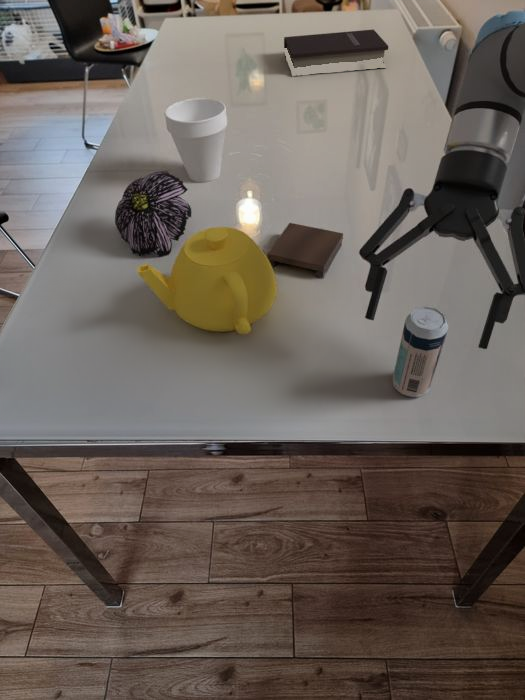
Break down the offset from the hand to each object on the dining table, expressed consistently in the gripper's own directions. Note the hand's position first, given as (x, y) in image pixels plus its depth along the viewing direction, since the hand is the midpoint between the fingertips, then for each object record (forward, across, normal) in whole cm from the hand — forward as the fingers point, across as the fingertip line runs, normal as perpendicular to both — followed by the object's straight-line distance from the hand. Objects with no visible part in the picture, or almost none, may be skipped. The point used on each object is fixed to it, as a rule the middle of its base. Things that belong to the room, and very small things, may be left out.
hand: (423, 333), depth 61 cm
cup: (-22, +54, -34) cm, 68 cm away
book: (-77, +51, -89) cm, 128 cm away
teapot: (+4, +31, -8) cm, 32 cm away
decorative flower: (-6, +51, -17) cm, 54 cm away
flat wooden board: (-9, +23, -20) cm, 32 cm away
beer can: (+7, 0, -5) cm, 8 cm away
